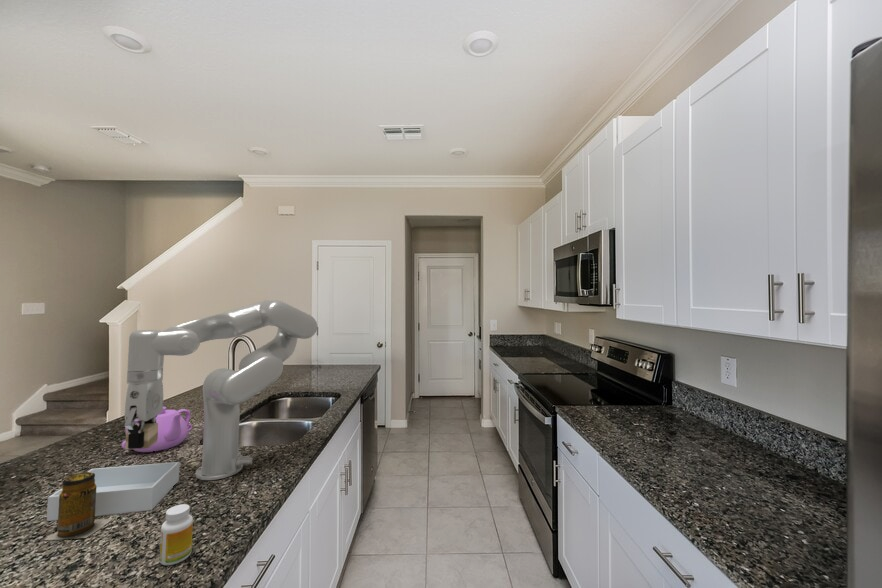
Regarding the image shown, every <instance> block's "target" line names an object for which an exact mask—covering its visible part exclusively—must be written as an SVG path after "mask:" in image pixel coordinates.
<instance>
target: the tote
mask: <svg viewBox="0 0 882 588" xmlns="http://www.w3.org/2000/svg"><path fill="white" fill-rule="evenodd" d="M180 464H181V462H180V461H172V462H162V463H161V462H160V463H148V464H147V463H145V464H135V465H134V464H133V465H121V466H111V467H110V466H107V467H97V468H96V467H95V468H91V469H89V470H88V471H87V472H92V473H94V474H95V477H94V479H95V484H96V505H95V517H98V516H109V515H116V514H118V515H120V514H126V513H136V512H138V513H139V512H145V511H147V512H148V511H152V510H153V509H154V508H155V507H156V506H157V505H158V504H159V503H160V502H161V501H162V500H163V498H164V497H166V495H168V493H169V492H171V490H172V489H173V488H174V487H175V486H176V485H177V484H178V483H179V481H180ZM176 483H177V484H176ZM175 484H176V485H175ZM174 485H175V486H174ZM173 486H174V487H173ZM62 491H63V490H62V487H61V488H59V490H57V491H55V492H54V493H52V494H51V495H49V496H48V497H47V508H46V509H47V512H46V522H51V521H58V508H59V497H60V496H59V495H60V493H61V492H62Z"/></svg>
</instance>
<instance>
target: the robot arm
mask: <svg viewBox="0 0 882 588" xmlns="http://www.w3.org/2000/svg"><path fill="white" fill-rule="evenodd" d="M317 322H318V321H317V320H316V319H315V317H313V316H312V315H311V314H309V313H307V312H304V311H302V310H300V309H298V308H296V307H294V306H292V305H290V304H288V303H286V302H284V301H281V300H280V301H279V300H262V301H258V302H255V303H252V304H248V305H246V306H242V307H239V308H235V309H233V310H229V311H224V312H222V313H221V312H220V313H216V314H214V315H210V316H206V317H202V318H198V319H193V320H191V321H187V322H184V323H181V324H177V325H174V326H171V327H170V326H169V328H165V329H164V330H160V329H159V330H158V329H142V330H141V329H139V330H134V331H132V332H131V333H130V335H129V337H128V354H127V370H126V371H127V372H126V384H128V385H127V391H126V397H125V404H124V421H125V423H124V427H125V428H127V430H128V434H129V438H128V448H129V449H130V450H133V449H135V448H142V447H143V446H144V432H142V431H143V426H144V424H151V423H156V417H157V415H158V414H160V413H161V412H162V411H163V407H164V385H163V384H164V383H163V381H164V380H163V378H164V377H163V376H164V362H165V361H164V359H165V356H176V357H177V356H178V357H179V356H189V355H191V354H193V353H194V352H196V351H197V350H198V349H199V347H200V345H201V343H205V342H209V341H215V340H223V339H226V340H227V339H232V338H237V337H240V336H242V335H245V334H247V333H250V332H253V331H256V330H258V329H259V330H260V329H262V328H264V327H267V326H271V327H276V328H277V332H276V335H275V336H274V338H273V339H272V340H270V341H269V342H267V343H266V344H264V345H262V346H260V347H258V348H257V349H255V350H253V351H251V352H250V353H248V354H246V355H245V356H243V357H242V358H241V359H240V361H239V364H238V370H233V369H231V368H226V367H225V368H217V369H215V370H213V371H211V372H209V373H208V374H207V376H206V377H205V378H204V380H203V384H202V396H203V397H202V398H203V410H204V411H203V412H204V413H203V433H202V436H203V438H202V456H201V457H202V459H201V463H202V464H201V466H199V467H198V468H197V469H196V470H195V478H197V479H198V480H202V481H215V480H220V479H225V478H228V477H231V476H234V475H236V474H238V473H239V472H241V470H242V469H244V465H245V466H246V465H247V466H248V465H252V464H253V457H251V455H245V456H244V455H242V454H241V452H242V451H239V439H240V438H239V437H240V417H241V416H240V414H241V413H240V409H241V408H240V404H243V403H244V402H246V401H248V400H250V399H253V397H255V396H256V395H258V394H259V393H260V392H262V391H264V390H265V389H267V388H269V387H270V386H271V385H273V384H274V383H275V382H277V380H278V379H279V378H280V377H281V375H282V373H283V371H284V362H285V361H287V360H288V359H290V357H291V356H292V355H293V354H294V352H295V351H296V347H297V343H298V339H302V340H303V339H304V340H305V339H310V338H312V337H313V336H314V335H315V334H316V333H317V330H318V323H317ZM137 419H138V420H139V419H140V420H139V421H134V420H137ZM136 423H139V427H138V425H135V424H136Z"/></svg>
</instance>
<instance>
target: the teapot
mask: <svg viewBox="0 0 882 588" xmlns="http://www.w3.org/2000/svg"><path fill="white" fill-rule="evenodd" d="M183 413H185V418H184V417H183V416H182V414H183ZM190 419H191V412H190V410H189V409H185V408H181V409H178V410H176V409H167V407H166V406H163V411H162V412H161V413H160V414H158V415H157V417H156V423H158V438H157V442H156V443H154V444H153V445H152V446H150V447H149V448H145V449H132V450H133V451H135V452H138V453H154V452H153V451H155V452H159V451H164V450H168V449H170V448H174V447H176V446H179V445H180V444H181V443H182V442H183V441H184V440H185V439H186V438H187V437H188V435H189V432H190V431H191V430H192V428H193V425H192V424H191V423H189V421H190ZM139 420H140V419H139V418H138V419H135V420H134V421H139ZM137 424H139V423H135V425H137ZM126 430H127V428H126V427H125V428H124V433H125V434H126ZM125 445H126V439H124V440H123V441H122V442H121V448H122V449H124V450H125Z"/></svg>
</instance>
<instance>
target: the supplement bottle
mask: <svg viewBox="0 0 882 588" xmlns="http://www.w3.org/2000/svg"><path fill="white" fill-rule="evenodd" d="M190 507H191V506H190V505H189V504H186V503H183V504H182V503H181V504H177V505H174V506H171V507H170V508H168V509H167V510H166V513H165V520H164V522H163V523H162V525H161V527H160V541H159V563H160V564H161V565H163V566H172V565H173V566H174V565H177V564H179V563H181V562H183V561H185V560H186V559H187V558H189V556H190V555H191V554H192V551H193V550H192V549H193V532H194V531H193V530H194V529H193V528H194V523H193V522H194V517H193V516H192V515H191V514H190V510H191V508H190Z"/></svg>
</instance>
